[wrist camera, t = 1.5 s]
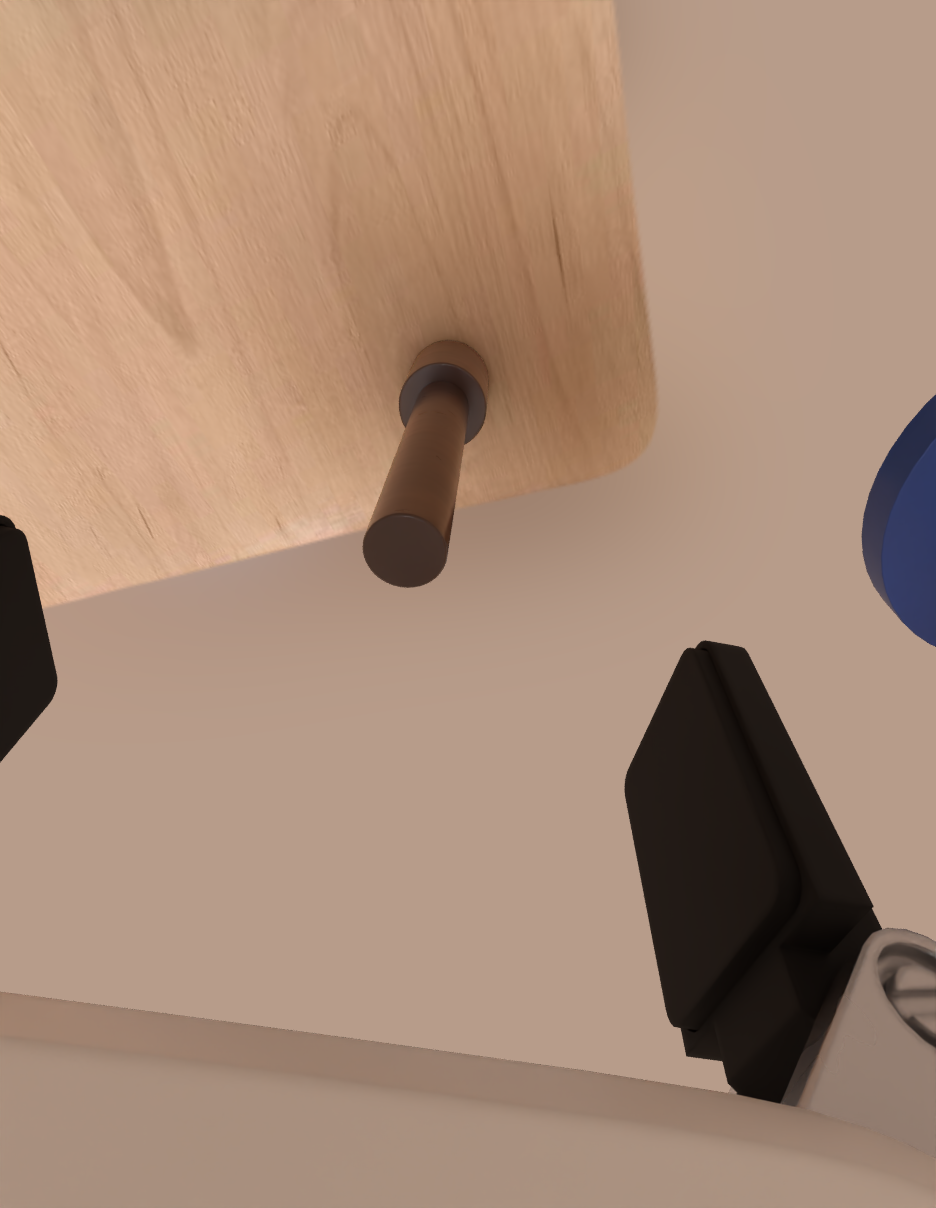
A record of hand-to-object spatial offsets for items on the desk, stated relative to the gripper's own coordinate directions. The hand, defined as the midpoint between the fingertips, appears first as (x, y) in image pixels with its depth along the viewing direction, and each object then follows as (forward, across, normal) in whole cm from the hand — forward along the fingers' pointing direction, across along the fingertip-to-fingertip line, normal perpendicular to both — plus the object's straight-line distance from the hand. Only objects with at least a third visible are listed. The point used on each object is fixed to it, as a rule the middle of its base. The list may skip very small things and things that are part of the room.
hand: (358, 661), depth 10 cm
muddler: (+23, 0, +2) cm, 23 cm away
